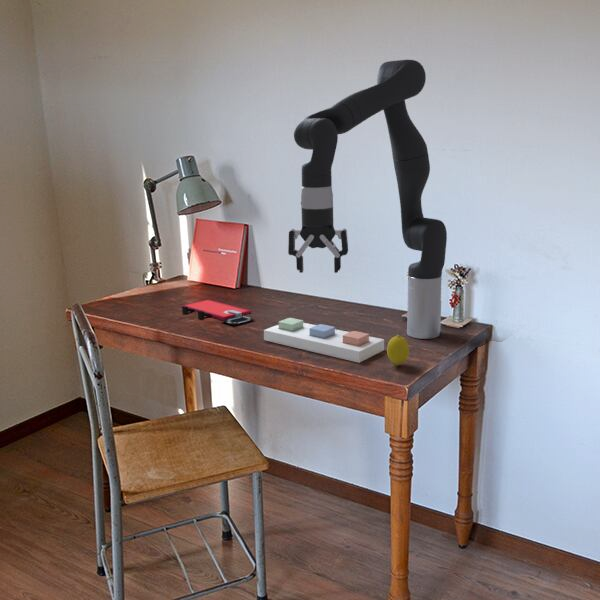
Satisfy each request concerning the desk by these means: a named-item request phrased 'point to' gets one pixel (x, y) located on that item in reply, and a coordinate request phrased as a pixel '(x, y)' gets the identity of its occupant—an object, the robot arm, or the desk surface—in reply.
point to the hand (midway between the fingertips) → (318, 272)
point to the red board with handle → (217, 311)
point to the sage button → (290, 324)
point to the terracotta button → (356, 338)
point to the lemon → (398, 350)
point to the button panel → (324, 343)
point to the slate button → (322, 331)
